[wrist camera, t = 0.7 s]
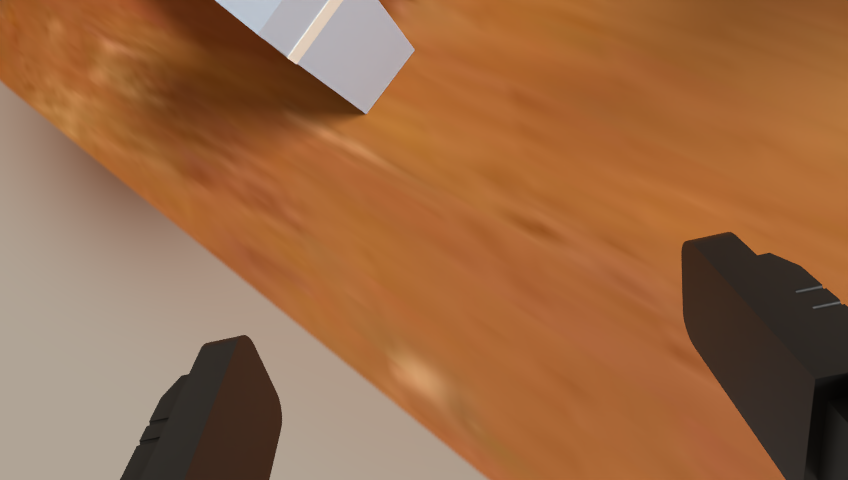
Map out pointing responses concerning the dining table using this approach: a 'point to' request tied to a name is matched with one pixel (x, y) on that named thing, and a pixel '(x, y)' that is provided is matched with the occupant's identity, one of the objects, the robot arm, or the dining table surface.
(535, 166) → the dining table surface
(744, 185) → the dining table surface
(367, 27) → the tall grey box
